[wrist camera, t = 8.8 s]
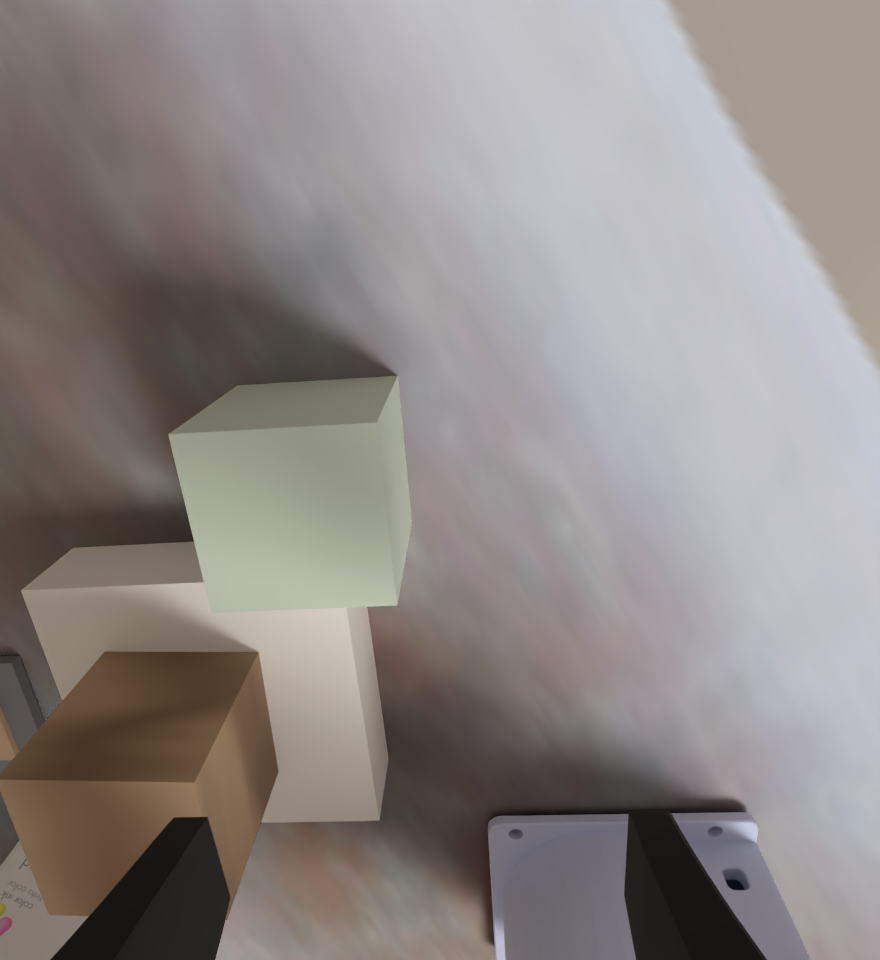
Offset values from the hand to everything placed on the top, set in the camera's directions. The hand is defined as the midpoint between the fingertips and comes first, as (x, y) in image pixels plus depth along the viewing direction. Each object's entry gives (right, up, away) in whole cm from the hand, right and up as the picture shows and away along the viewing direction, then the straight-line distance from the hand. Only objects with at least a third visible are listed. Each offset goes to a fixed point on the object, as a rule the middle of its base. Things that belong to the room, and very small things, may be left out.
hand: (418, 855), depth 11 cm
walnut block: (-7, 0, +8) cm, 11 cm away
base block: (-6, +1, +11) cm, 12 cm away
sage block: (-3, +7, +8) cm, 11 cm away
